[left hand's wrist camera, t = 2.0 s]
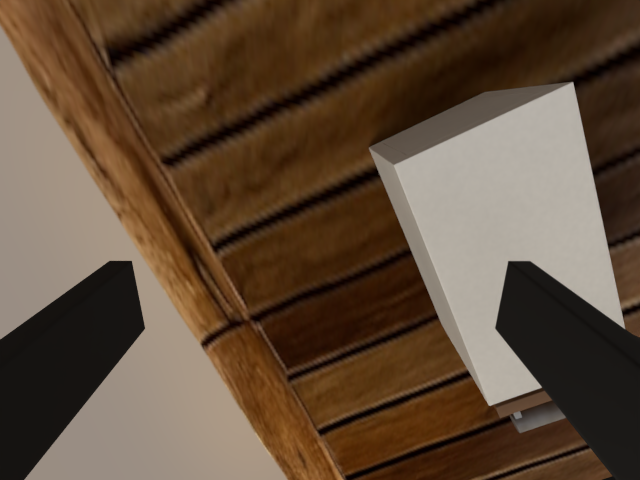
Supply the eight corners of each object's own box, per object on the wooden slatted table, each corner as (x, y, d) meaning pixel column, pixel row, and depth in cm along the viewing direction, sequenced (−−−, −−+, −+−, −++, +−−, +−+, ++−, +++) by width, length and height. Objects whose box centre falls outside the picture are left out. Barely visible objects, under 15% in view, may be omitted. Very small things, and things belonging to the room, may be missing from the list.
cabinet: (541, 286, 36) (631, 356, 26) (442, 325, 37) (489, 406, 27) (485, 91, 30) (573, 81, 19) (368, 147, 31) (393, 164, 21)
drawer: (561, 360, 38) (630, 431, 29) (476, 391, 39) (519, 466, 31) (497, 143, 30) (566, 155, 22) (394, 189, 31) (422, 218, 23)
